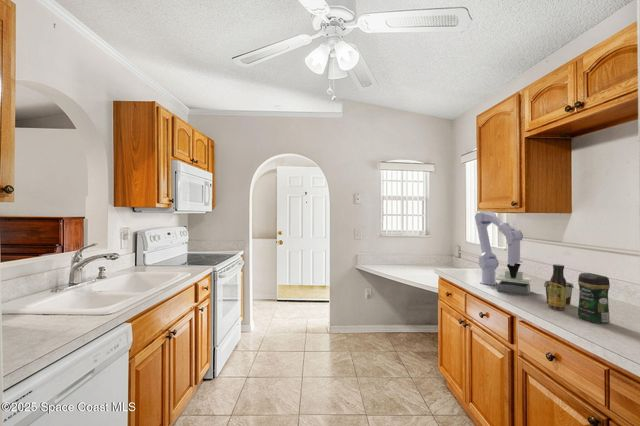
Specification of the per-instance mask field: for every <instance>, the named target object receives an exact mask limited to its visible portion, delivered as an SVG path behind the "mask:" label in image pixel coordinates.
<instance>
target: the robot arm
mask: <svg viewBox="0 0 640 426" xmlns="http://www.w3.org/2000/svg"><path fill="white" fill-rule="evenodd" d="M474 220H475V225H476V228H477V232H478V235H477V236H478V240H479V243H480V249H481V253H480V255H479V256H478V265H479V267H480V269H481V282H479V284H480V285H481V284H482V285H490V286H496V285H497V284H498V281H497V280H496V278H497V277H496V270H497V268H499V264H500V263H499V260H498V258H497V255H496V254H495V253H493V251H492V246H491V242H490V237H489V233H488V226H490V225H491V224H492V225H494V226H496V227H498V231H499V232H500V233H501V234H503V235H504V236H505V239H506V243H507V264H506V266H507V269H508V271H510V276H511V278H516V274H517V272H519V269H520V267H521V263H523V260H521V241H522V240H523V238H524V235H523V232H522V231H521V230H519V229H516V228H514V227H512V226H511V225H510V223H509V222H503V221H502V220H501V219H500V218H499V217H498V216H497V213H495V212H494V211H492V210H491V211H482V210H481V211H479V210H478V211H477V212H476V213H475V216H474Z"/></svg>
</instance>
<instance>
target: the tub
mask: <svg viewBox="0 0 640 426" xmlns="http://www.w3.org/2000/svg"><path fill="white" fill-rule="evenodd" d="M496 291H497V292H499V293H500V292H501V293H508V294H514V295H522V296H529V294H530V292H531V284H530V283H529V284H528V283H519V282H511V281H502V280H499V282H497V290H496Z"/></svg>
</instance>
